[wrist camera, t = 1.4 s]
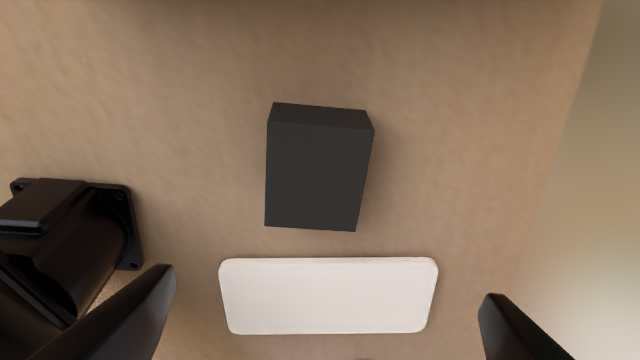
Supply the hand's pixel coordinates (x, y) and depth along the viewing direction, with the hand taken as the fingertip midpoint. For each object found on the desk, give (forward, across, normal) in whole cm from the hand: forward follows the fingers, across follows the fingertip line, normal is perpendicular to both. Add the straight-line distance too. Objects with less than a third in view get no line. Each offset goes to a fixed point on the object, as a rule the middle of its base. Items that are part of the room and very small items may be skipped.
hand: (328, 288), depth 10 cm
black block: (+11, +1, +2) cm, 11 cm away
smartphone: (+11, -1, +12) cm, 16 cm away
